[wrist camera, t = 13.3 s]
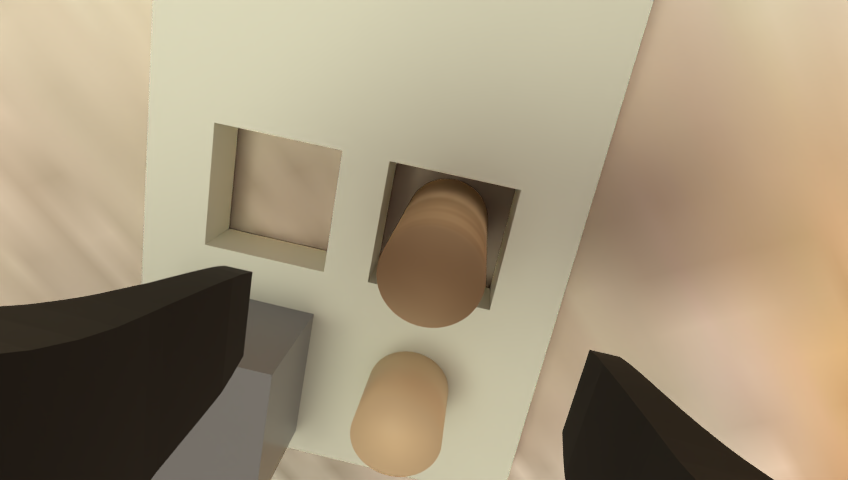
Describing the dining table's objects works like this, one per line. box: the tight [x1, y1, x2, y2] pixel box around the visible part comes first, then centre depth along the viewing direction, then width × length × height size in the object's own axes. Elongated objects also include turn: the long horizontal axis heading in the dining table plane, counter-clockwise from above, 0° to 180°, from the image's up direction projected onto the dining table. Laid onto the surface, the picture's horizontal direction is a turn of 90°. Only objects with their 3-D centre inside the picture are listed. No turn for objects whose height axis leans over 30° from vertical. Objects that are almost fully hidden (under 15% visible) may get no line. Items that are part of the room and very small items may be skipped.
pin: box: [376, 179, 488, 328], centre depth 18 cm, size 3×3×6 cm
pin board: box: [141, 0, 654, 480], centre depth 19 cm, size 20×15×5 cm
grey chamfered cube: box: [151, 299, 314, 480], centre depth 20 cm, size 5×5×4 cm
